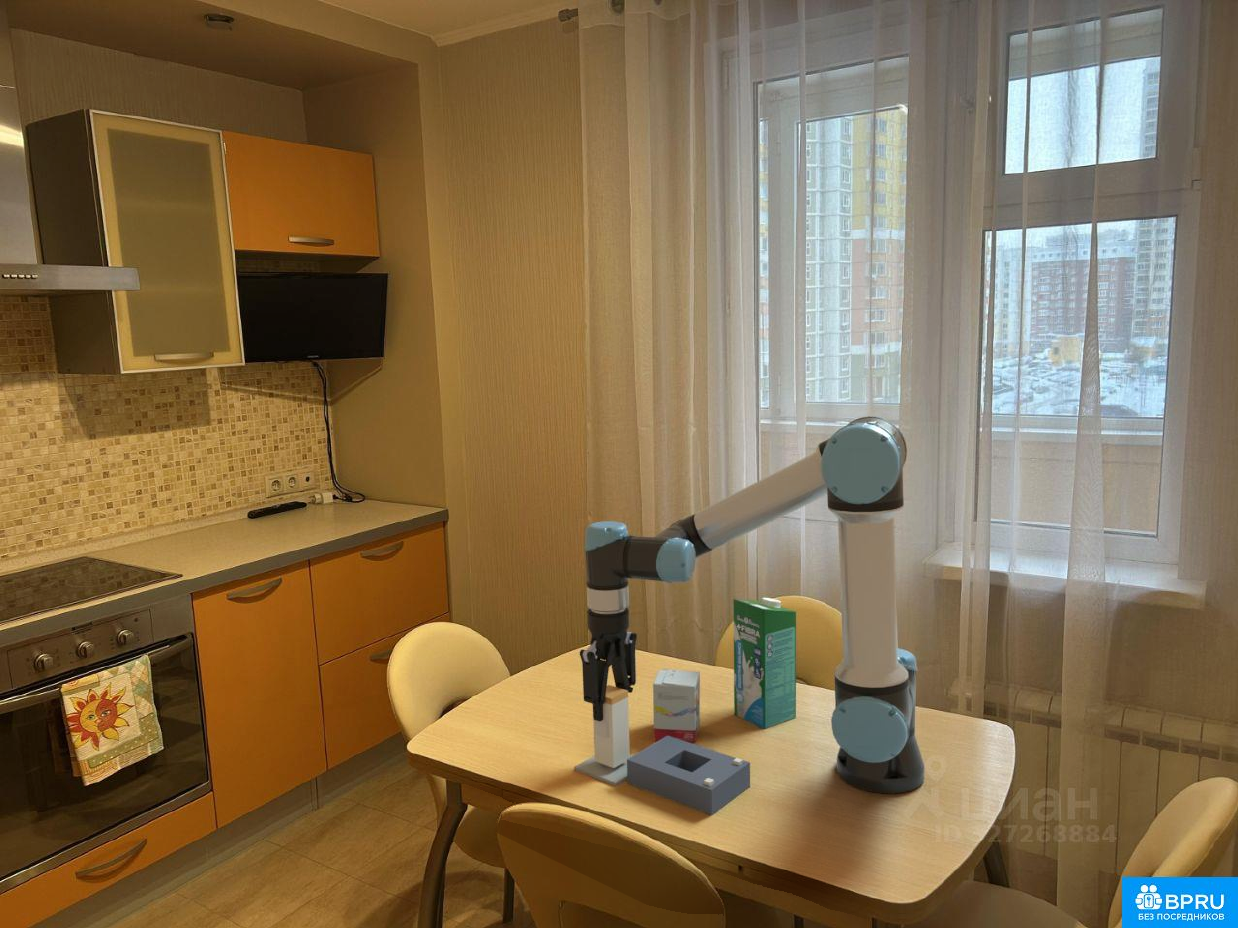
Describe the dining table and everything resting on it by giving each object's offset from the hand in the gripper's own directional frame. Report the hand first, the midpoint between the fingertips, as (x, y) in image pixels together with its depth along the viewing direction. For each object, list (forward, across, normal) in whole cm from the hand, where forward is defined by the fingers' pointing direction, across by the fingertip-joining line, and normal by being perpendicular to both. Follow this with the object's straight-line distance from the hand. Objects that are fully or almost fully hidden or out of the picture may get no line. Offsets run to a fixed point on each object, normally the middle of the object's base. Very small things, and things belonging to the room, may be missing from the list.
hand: (611, 730), depth 168 cm
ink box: (+8, -19, +1) cm, 20 cm away
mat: (+7, 0, 0) cm, 7 cm away
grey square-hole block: (+7, -3, +15) cm, 17 cm away
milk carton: (+7, -36, +11) cm, 38 cm away
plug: (+6, 0, 0) cm, 6 cm away
